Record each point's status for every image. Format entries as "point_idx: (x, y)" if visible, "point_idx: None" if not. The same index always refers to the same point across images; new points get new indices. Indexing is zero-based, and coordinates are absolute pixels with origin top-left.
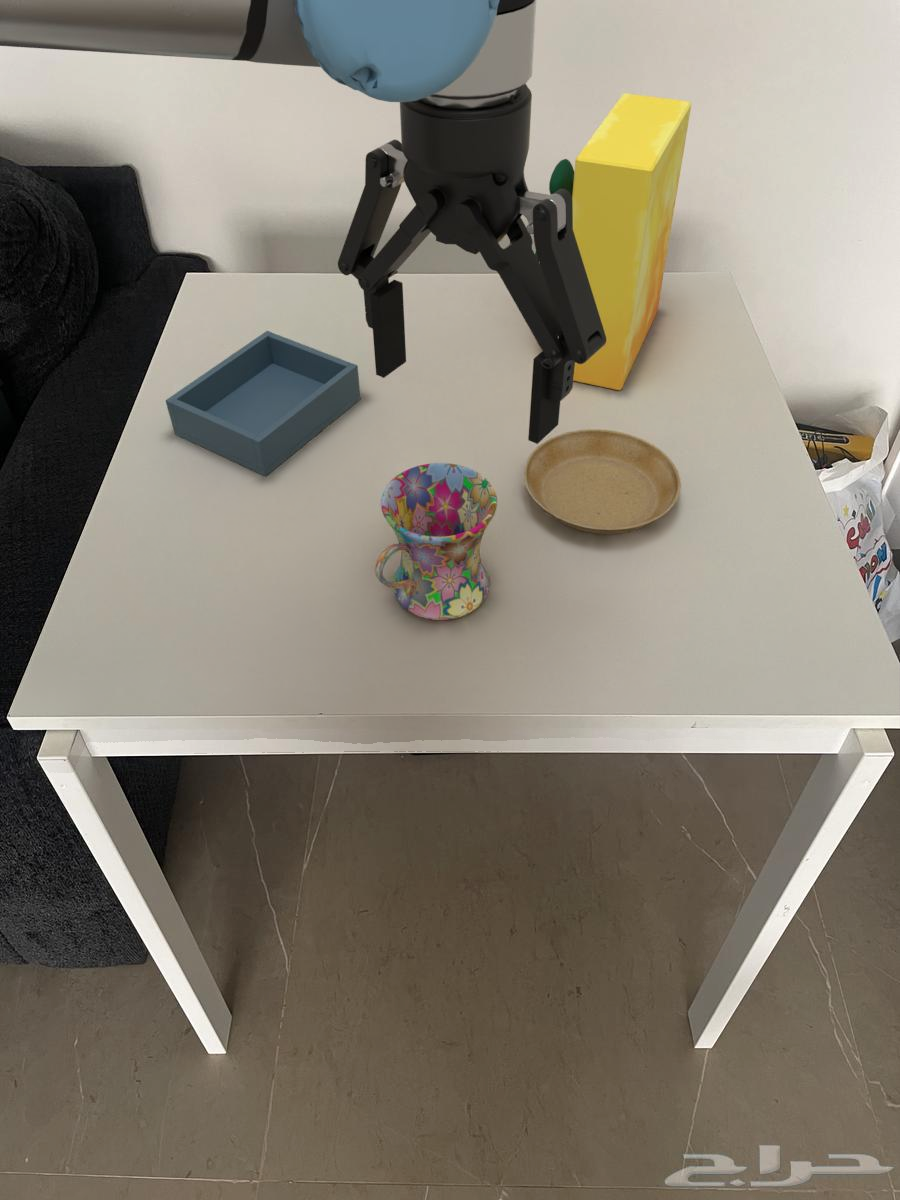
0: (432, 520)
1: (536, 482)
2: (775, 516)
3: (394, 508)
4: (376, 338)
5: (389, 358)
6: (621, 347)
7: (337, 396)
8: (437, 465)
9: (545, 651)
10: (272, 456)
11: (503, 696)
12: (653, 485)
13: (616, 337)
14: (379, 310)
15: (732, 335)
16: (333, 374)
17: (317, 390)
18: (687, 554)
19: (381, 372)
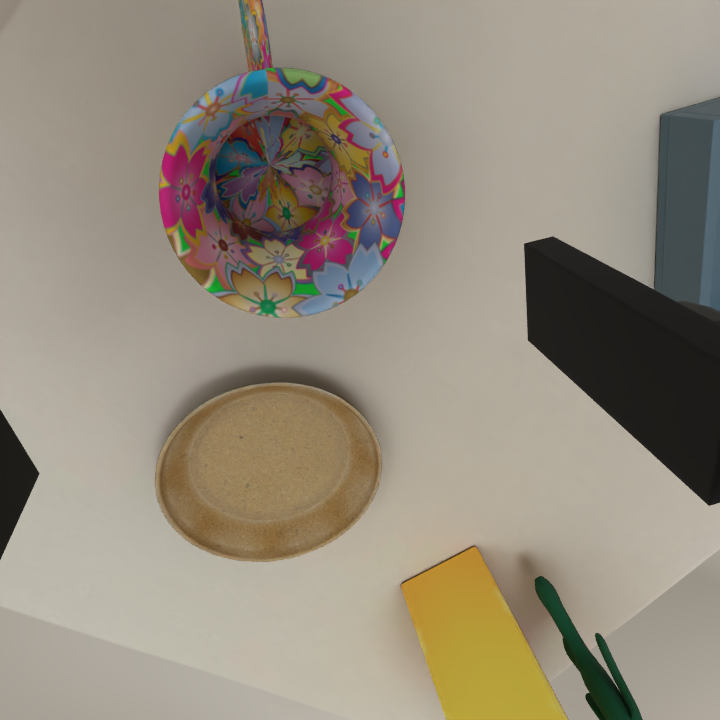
0: (332, 211)
1: (340, 411)
2: (98, 588)
3: (354, 134)
4: (620, 282)
5: (551, 291)
6: (425, 635)
7: None
8: (370, 270)
9: (57, 202)
10: (677, 140)
11: (6, 77)
12: (235, 518)
13: (437, 643)
14: (685, 342)
15: (377, 713)
16: None
17: (710, 281)
18: (107, 475)
19: (540, 246)
